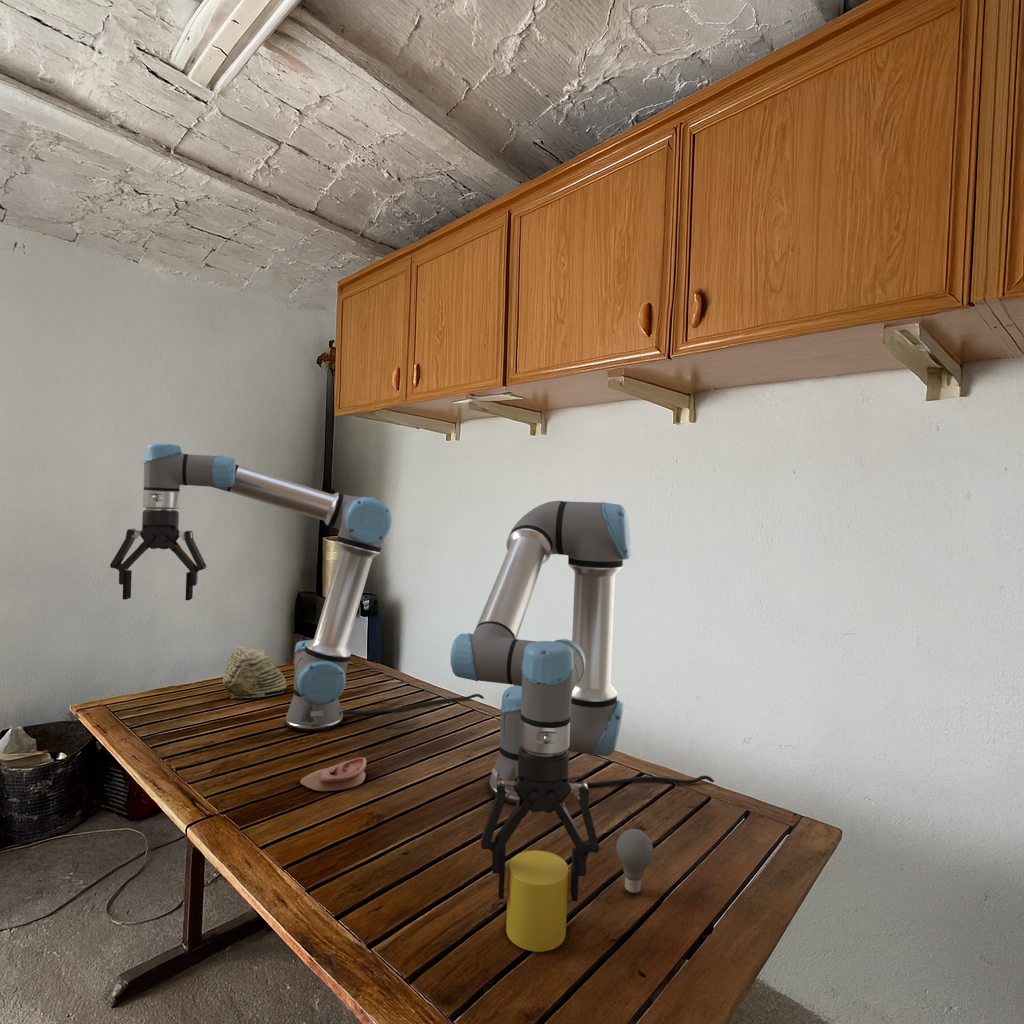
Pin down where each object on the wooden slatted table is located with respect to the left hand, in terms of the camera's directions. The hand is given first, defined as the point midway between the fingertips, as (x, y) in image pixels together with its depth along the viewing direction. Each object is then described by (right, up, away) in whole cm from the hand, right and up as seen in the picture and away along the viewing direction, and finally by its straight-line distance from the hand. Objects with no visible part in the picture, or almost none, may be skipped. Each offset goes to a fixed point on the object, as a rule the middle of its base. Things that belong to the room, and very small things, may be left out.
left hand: (158, 599), depth 150 cm
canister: (+87, -42, -55) cm, 112 cm away
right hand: (+88, -37, -55) cm, 110 cm away
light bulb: (+104, -43, -44) cm, 121 cm away
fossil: (+3, -37, +48) cm, 61 cm away
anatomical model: (+44, -39, -9) cm, 60 cm away
